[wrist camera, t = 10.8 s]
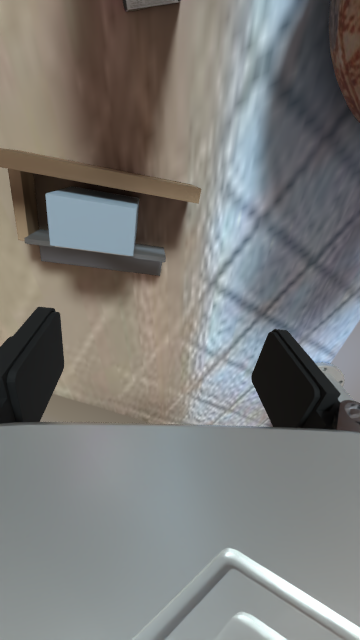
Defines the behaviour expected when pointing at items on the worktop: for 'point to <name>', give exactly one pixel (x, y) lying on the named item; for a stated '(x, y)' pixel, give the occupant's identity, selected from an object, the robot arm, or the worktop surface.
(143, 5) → the candy bar box
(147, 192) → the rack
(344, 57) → the jug
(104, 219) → the blue grey rectangular block
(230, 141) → the worktop surface
